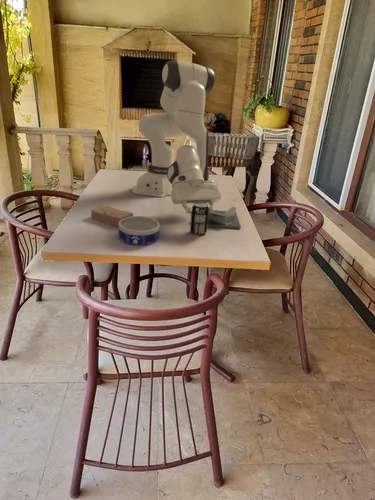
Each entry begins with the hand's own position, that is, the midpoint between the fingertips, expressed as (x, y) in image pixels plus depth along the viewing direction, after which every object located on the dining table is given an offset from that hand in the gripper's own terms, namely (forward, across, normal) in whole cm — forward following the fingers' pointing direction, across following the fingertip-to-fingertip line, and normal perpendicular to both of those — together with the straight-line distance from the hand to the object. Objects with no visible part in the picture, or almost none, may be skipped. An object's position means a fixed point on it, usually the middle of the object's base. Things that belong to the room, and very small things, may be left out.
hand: (199, 212), depth 149 cm
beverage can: (+6, 0, -6) cm, 9 cm away
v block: (-2, -13, -14) cm, 19 cm away
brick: (-7, +31, -20) cm, 38 cm away
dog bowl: (+7, +24, -6) cm, 26 cm away
